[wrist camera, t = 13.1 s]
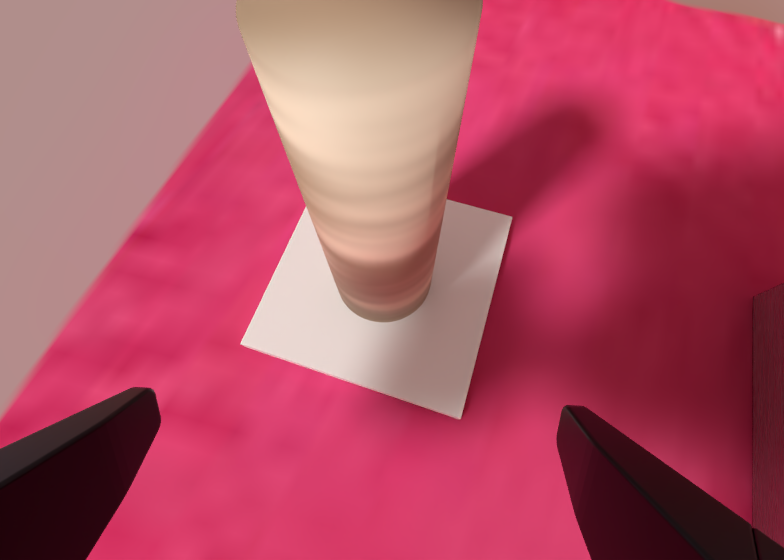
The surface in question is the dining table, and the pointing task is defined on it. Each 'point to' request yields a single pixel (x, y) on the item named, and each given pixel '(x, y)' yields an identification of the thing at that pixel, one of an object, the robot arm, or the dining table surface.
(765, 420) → the socket block
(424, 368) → the white mat
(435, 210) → the birch peg
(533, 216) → the dining table surface
